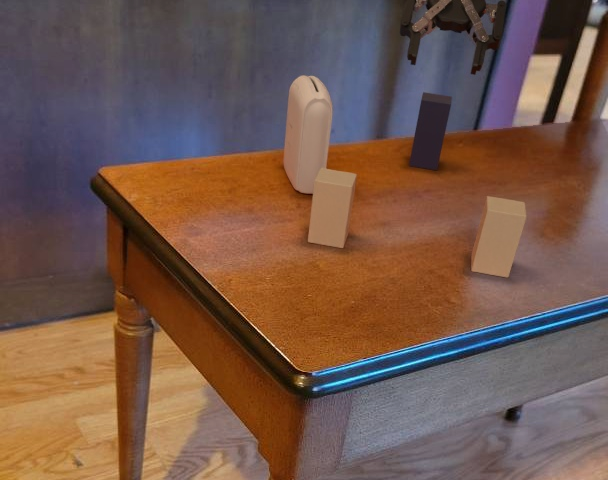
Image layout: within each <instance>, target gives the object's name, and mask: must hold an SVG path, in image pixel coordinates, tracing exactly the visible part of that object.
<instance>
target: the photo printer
mask: <svg viewBox="0 0 608 480" xmlns="http://www.w3.org/2000/svg"><path fill="white" fill-rule="evenodd" d="M286 113H287V114H286V124H285V134H284V135H285V136H284V138H285V139H284V148H283V168H284V171H285V173H286V176H287V178H288V180H289V182H290V184H291V186H292V187H293V189H294V190H295V191H298V192H299V193H301V194H308V195H313V190H314V181H315V179H316V177H317V175H318V173H319V171H320V169H321V168H325V169H327V165H328V158H329V157H328V156H329V148H330V140H331V139H330V138H331V131H332V123H333V113H334V105H333V102H332V98H331V96H330V93H329V91H328V88H327V87H326V85H325V84H324V83H323V82H322V80H320V78H318V77H317V76H314V75H299V76H298V77H296V78H295V79H294V80H293V82H292V83H291V85H290V87H289V91H288V100H287V110H286Z"/></svg>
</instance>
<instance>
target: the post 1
mask: <svg viewBox="0 0 608 480" xmlns="http://www.w3.org/2000/svg"><path fill="white" fill-rule="evenodd" d="M357 178H358V174H357V173H355V172H349V171H342V170H335V169H331V168H326V169H325V168H321V169H320V171H319V173H318V175H317V177H316V179H315V181H314V190H313V194H312V199H311V208H310V216H309V217H310V218H309V227H308V233H307V234H308V235H307V243H311V244H316V245H322V246H327V247H333V248H338V249H344V247H345V245H346V243H347V242H346V241H347V239H348V236H349V231H350V226H351V225H350V224H351V218H352V212H353V204H354V199H355V198H354V197H355V191H356V183H357Z"/></svg>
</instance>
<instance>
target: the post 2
mask: <svg viewBox="0 0 608 480" xmlns="http://www.w3.org/2000/svg"><path fill="white" fill-rule="evenodd" d="M526 221H527V210H526V202H525V201H521V200H520V201H519V200H514V199H509V198H502V197H495V196H491V195H490V196H489V195H486V199H485V203H484V206H483V210H482V213H481V218H480V221H479V225H478V228H477V232H476V237H475V241H474V243H473V248H472V252H471V255H470V259H471V261H470V264H471V265H470V272H474V273H479V274H485V275H492V276H496V277H501V278H502V277H503V278H506V279H507V278H509V277H510V274H511V270H512V266H513V264H514V260H515V257H516V254H517V250H518V247H519V243H520V240H521V237H522V233H523V230H524V227H525V223H526Z"/></svg>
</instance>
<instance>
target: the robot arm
mask: <svg viewBox="0 0 608 480" xmlns="http://www.w3.org/2000/svg"><path fill="white" fill-rule="evenodd" d="M422 6H425V9H426V10H427V11H425V12H424V14H423V16H422V17H420V19H419V20H417V21H416V22H414V23H413V22H412V19H413V16H414V13H415V12H418V10H420V9H421V7H422ZM506 9H507V2H506V1H505V0H499V1H497V3H487V1H486V0H405V4H404V8H403V11H402V15H401V18H400V22H399V23H400V25H399V35H400V36H401V37H408V38H409V43H408V48H407V54H406V58H407V61H410V66H416V64H417V59H418V54H419V50H420V45H421V40H422V38H424V37H425V36H426V35H430V34H431V33H432V32H433V31H434V30H436V29H437V28H438V29H439V31H442V32H443V31H444V32H448V31H451V32H453V33H456V34H462V33H463V32H465V34H466V36H467V38H468V39H469V42H472V43H473V45H474V46H475V49H474V54H473V59H472V64H471V69H470V75H473V76H475V75H477V72H480V71H481V70H482V68H483V65H484V63H485V56H486V52H487V51H488V50H492V51H497V50H499V48H500V44H501V42H502V38H503V34H504V27H505V26H504V25H505V19H506V18H505V17H506ZM484 15H487V16H488V21H489V22H490V23H491V24H492V30H491V34H488V33H487V31H486V29H485V27H484V25H483V21H482V19H481V18H482V17H484Z"/></svg>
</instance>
